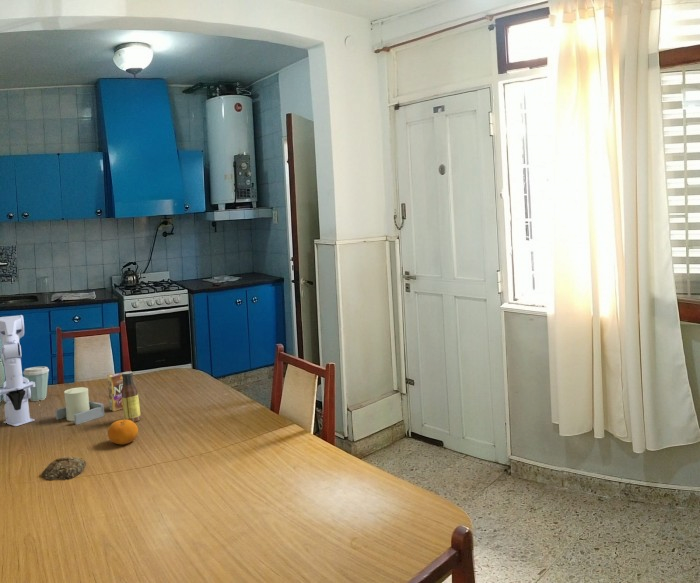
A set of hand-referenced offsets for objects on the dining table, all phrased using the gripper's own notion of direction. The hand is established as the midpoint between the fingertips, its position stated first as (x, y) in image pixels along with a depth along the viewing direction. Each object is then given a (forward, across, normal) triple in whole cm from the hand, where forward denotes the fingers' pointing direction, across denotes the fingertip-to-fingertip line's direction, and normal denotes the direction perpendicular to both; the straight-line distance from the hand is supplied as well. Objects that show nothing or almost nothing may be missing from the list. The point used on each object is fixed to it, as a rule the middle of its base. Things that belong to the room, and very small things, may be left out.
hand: (17, 409), depth 239 cm
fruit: (+10, +14, -45) cm, 48 cm away
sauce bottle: (+10, +31, -27) cm, 42 cm away
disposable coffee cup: (+10, +29, +38) cm, 49 cm away
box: (+9, +23, -4) cm, 25 cm away
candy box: (+10, +39, -9) cm, 41 cm away
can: (+10, +23, -3) cm, 25 cm away
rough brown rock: (+10, -13, -50) cm, 53 cm away
